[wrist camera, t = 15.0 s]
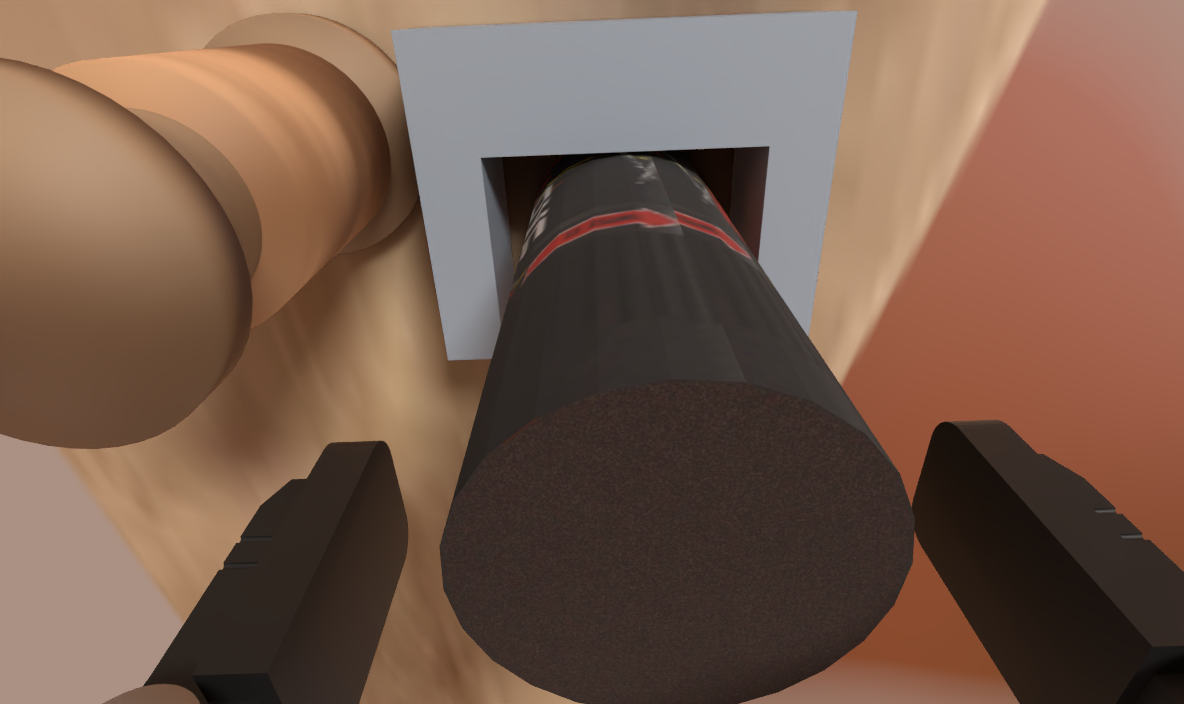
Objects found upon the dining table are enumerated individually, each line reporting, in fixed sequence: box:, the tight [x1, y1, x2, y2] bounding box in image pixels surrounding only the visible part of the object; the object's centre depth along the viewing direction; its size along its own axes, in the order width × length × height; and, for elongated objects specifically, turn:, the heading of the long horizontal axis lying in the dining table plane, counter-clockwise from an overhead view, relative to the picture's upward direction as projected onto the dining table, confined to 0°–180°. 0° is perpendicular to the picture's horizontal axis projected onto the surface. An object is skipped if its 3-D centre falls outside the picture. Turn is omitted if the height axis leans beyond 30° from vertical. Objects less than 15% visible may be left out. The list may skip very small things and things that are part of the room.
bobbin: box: [0, 13, 420, 449], centre depth 14 cm, size 7×7×12 cm
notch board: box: [391, 11, 857, 360], centre depth 18 cm, size 9×11×4 cm
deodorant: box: [440, 150, 915, 704], centre depth 14 cm, size 6×6×15 cm
